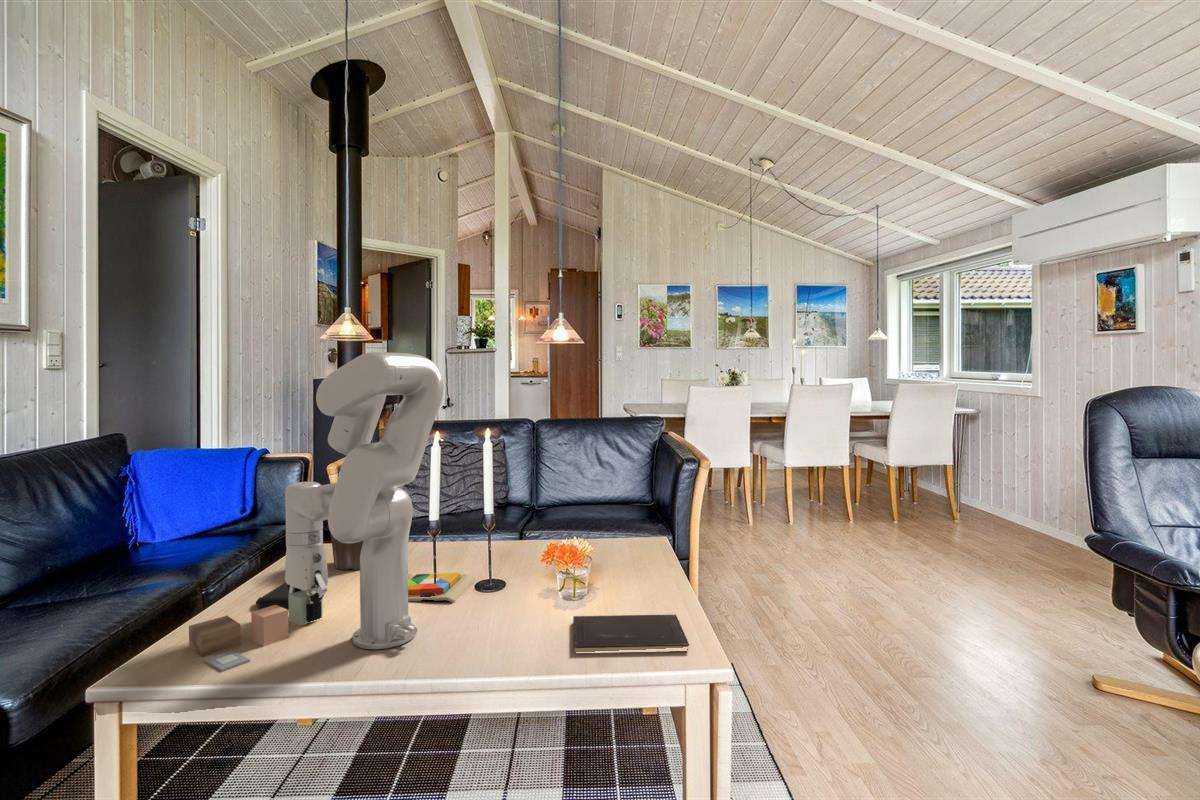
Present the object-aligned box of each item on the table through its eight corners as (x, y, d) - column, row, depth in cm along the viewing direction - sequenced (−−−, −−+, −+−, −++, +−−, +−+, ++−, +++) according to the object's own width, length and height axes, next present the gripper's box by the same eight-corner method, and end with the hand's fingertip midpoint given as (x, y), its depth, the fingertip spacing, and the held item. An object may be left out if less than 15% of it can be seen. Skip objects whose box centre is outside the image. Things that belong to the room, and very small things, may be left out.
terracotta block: (288, 638, 127) (288, 609, 127) (264, 646, 123) (263, 617, 123) (275, 632, 130) (275, 604, 130) (251, 640, 126) (251, 612, 126)
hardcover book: (689, 655, 121) (689, 644, 121) (573, 657, 120) (573, 646, 120) (675, 623, 137) (675, 613, 137) (573, 625, 136) (573, 615, 136)
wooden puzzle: (410, 579, 166) (410, 566, 166) (476, 582, 164) (476, 569, 164) (380, 602, 149) (380, 588, 149) (454, 606, 147) (454, 591, 147)
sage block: (322, 618, 138) (322, 592, 138) (301, 625, 134) (300, 598, 134) (310, 613, 141) (309, 588, 140) (288, 620, 136) (288, 594, 136)
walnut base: (240, 645, 124) (240, 624, 124) (201, 657, 118) (201, 635, 118) (227, 636, 128) (227, 615, 128) (189, 647, 123) (188, 625, 123)
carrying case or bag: (282, 590, 157) (248, 612, 142) (282, 578, 157) (248, 599, 142) (323, 590, 157) (293, 612, 142) (323, 579, 157) (293, 599, 142)
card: (249, 661, 117) (249, 658, 116) (221, 671, 112) (221, 668, 112) (232, 652, 120) (232, 649, 120) (204, 661, 116) (204, 659, 116)
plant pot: (350, 576, 167) (350, 518, 166) (313, 567, 175) (313, 512, 174) (397, 561, 181) (396, 508, 180) (361, 553, 189) (360, 502, 189)
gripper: (342, 539, 135) (343, 619, 135) (299, 528, 145) (300, 603, 145) (310, 547, 129) (311, 631, 129) (267, 535, 138) (268, 613, 139)
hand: (305, 615), depth 137 cm, fingers open, 5 cm apart
